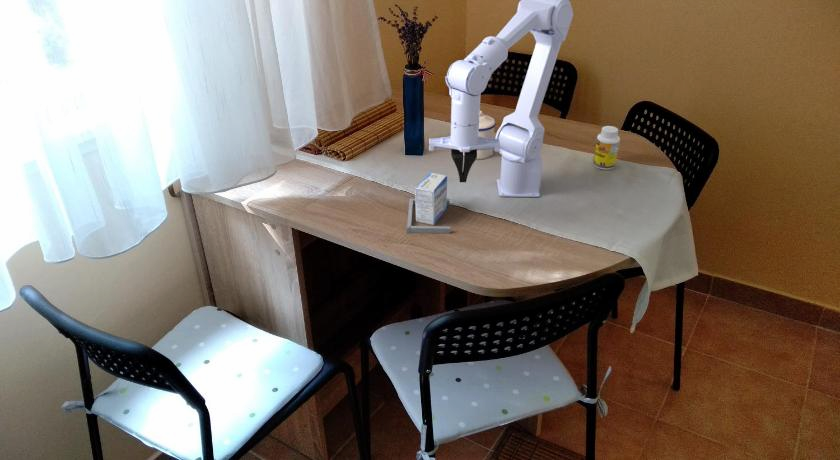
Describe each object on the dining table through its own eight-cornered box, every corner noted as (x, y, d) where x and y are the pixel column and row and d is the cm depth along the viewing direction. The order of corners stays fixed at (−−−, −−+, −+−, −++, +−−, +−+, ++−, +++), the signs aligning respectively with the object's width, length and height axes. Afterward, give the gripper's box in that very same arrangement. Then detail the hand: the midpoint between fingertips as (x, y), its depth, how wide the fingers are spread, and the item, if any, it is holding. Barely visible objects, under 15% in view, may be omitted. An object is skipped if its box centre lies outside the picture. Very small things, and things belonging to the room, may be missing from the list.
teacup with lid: (500, 154, 168) (503, 113, 161) (473, 163, 163) (475, 121, 157) (473, 138, 176) (475, 98, 170) (446, 146, 172) (447, 105, 166)
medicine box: (433, 226, 138) (434, 191, 133) (415, 222, 140) (414, 187, 135) (447, 209, 144) (448, 175, 139) (429, 205, 146) (429, 171, 141)
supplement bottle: (588, 163, 163) (594, 126, 158) (606, 159, 165) (612, 122, 160) (601, 172, 159) (607, 134, 154) (619, 168, 161) (626, 131, 155)
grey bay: (449, 203, 146) (449, 199, 145) (450, 233, 136) (450, 228, 135) (409, 202, 146) (409, 198, 146) (407, 232, 136) (407, 227, 135)
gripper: (429, 128, 125) (428, 188, 133) (502, 129, 125) (498, 189, 132) (429, 114, 131) (429, 173, 139) (499, 115, 131) (495, 173, 138)
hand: (462, 180), depth 136 cm, fingers closed
